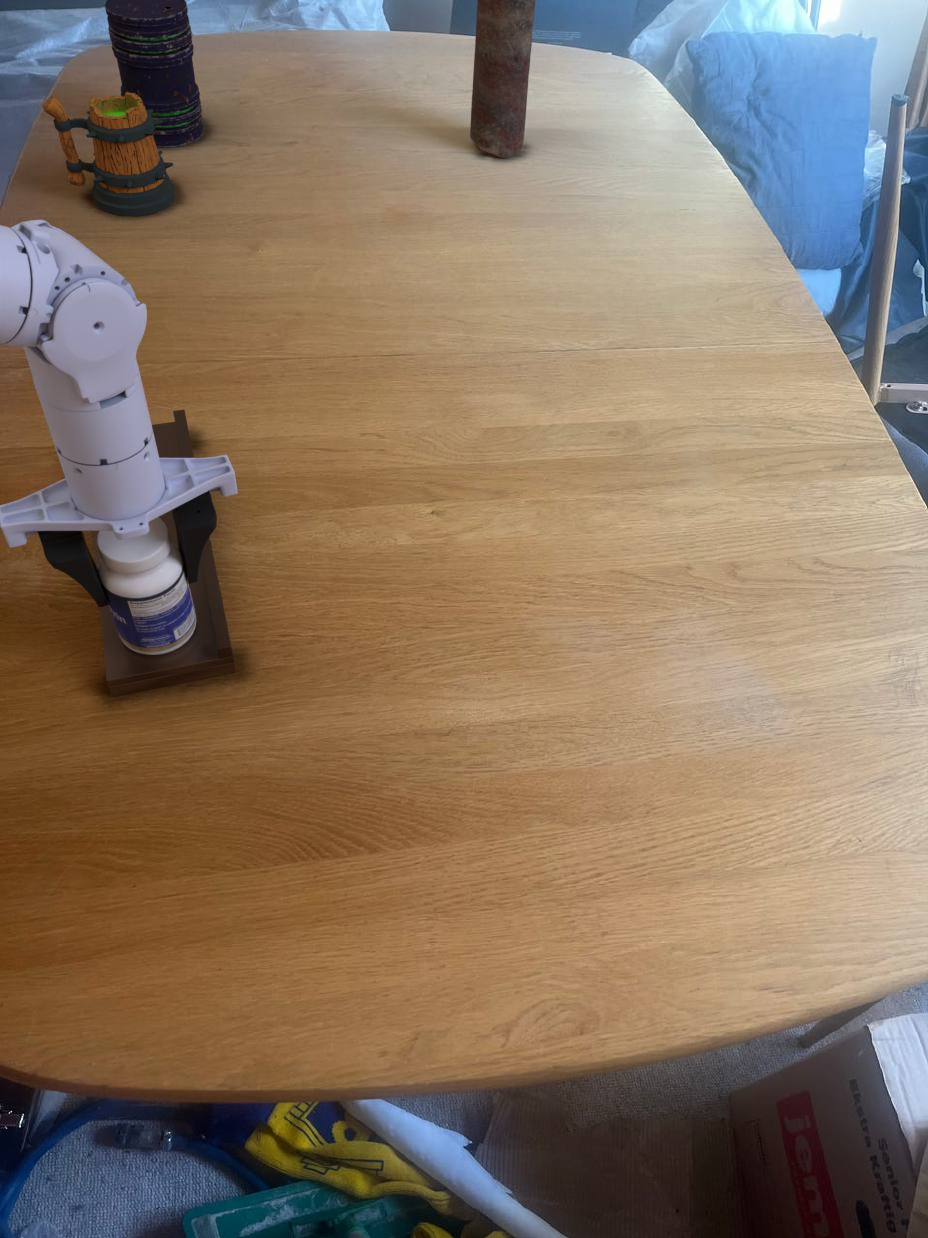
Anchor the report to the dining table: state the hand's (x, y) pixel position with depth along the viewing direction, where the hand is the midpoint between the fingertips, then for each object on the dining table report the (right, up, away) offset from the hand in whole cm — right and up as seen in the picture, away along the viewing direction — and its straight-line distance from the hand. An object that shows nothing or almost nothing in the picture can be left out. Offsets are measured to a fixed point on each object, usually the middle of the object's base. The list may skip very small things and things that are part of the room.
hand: (145, 584), depth 68 cm
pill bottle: (0, -3, +4) cm, 5 cm away
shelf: (-3, +3, +11) cm, 12 cm away
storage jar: (-17, +62, +60) cm, 88 cm away
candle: (+27, +62, +63) cm, 93 cm away
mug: (-19, +48, +48) cm, 71 cm away
